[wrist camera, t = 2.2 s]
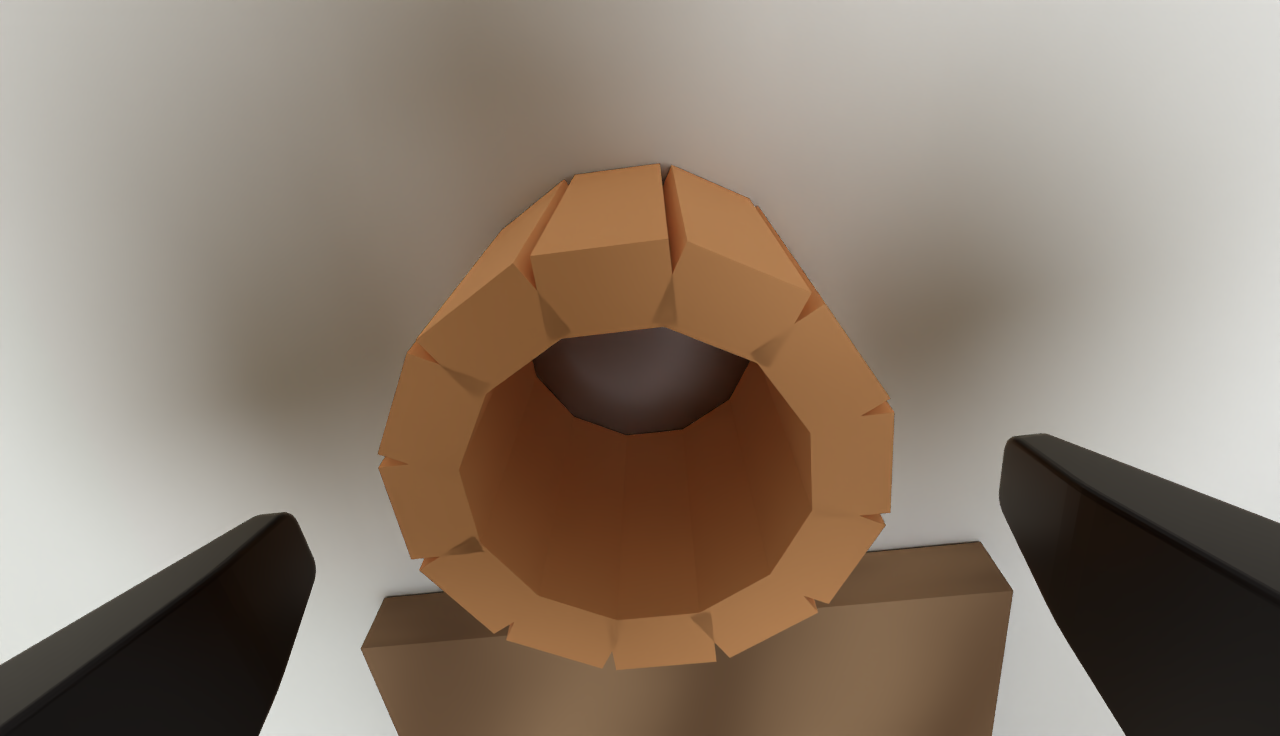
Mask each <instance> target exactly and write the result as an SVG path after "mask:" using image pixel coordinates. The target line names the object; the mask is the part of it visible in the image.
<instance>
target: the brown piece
mask: <svg viewBox="0 0 1280 736" xmlns="http://www.w3.org/2000/svg"><path fill="white" fill-rule="evenodd" d="M1012 595H1013V590H1012V588H1011V587H1010V585H1009V584H1008V582H1007V581H1006V579H1005V578H1004V576H1003V575H1002V573H1001V572H1000V570H999V569H998V567H997V566H996V564H995V563H994V561H993V560H992V558H991V557H990V555H989V554H988V552H987V551H986V549H985V548H984V546H983V545H982V543H981V542H975V543H965V544H954V545H943V546H933V547H922V548H911V549H901V550H890V551H879V552H869V553H865V555H864V556H863V557H862V559H861V560H860V561H859V563H858V564H857V566H856V567H855V568H854V570H853V571H852V572H851V574H850V575H849V577H848V578H847V579H846V581H845V582H844V583H843V585H842V586H841V588H840V589H839V590H838V592H837V593H836V594H835V596H834V597H833V599H832V600H831V601H830V603H829V604H827V603H824V602H821V601H818V600H815V599H814V600H815V604H816V607H817V610H818V613H816V614H815V615H813V616H811V617H809V618H807V619H805V620H803V621H801V622H799V623H797V624H795V625H793V626H791V627H789V628H787V629H785V630H783V631H781V632H779V633H777V634H776V635H774V636H772V637H770V638H768V639H766V640H764V641H762V642H760V643H758V644H756V645H754V646H752V647H750V648H748V649H746V650H744V651H742V652H740V653H739V654H737V655H735V656H733V657H731V658H729V657H728V656H727V655H726V654H725V652H724V651H723V650H722V649H721V648H720V647H719V646H718V645H717V644H716V643H715V642H714V643H715V652H716V661H717V662H707V663H695V664H683V665H671V666H659V667H648V668H636V669H624V670H616V667H615V662H614V658H613V653H612V652H611V654H610V656H609V658H608V659H607V661H606V663H605V665H604V667H603V668H602V669H601V668H598V667H595V666H591V665H588V664H585V663H581V662H578V661H574V660H571V659H568V658H564V657H561V656H558V655H554V654H551V653H547V652H544V651H541V650H537V649H534V648H531V647H527V646H524V645H521V644H517V643H514V642H510V641H507V640H506V638H507V634H508V630H509V626H510V625H508V626H506V627H505V628H503V629H501V630H500V631H498V632H496V633H495V634H494V633H492V632H491V631H490V630H489V629H488V628H487V627H485V626H484V625H483V624H482V623H481V622H479V621H478V620H477V619H476V618H475V617H474V616H472V615H471V614H470V613H469V612H468V611H467V610H465V609H464V608H463V607H462V606H461V605H460V604H458V603H457V602H456V601H455V600H454V599H452V598H451V597H450V596H449V595H448V594H447V593H445V592H442V593H431V594H421V595H410V596H399V597H388V598H384V600H383V603H382V605H381V607H380V609H379V611H378V613H377V615H376V617H375V619H374V622H373V624H372V626H371V628H370V630H369V632H368V634H367V636H366V638H365V641H364V643H363V645H362V647H361V650H362V653H363V655H364V657H365V660H366V662H367V664H368V667H369V669H370V671H371V673H372V676H373V678H374V680H375V683H376V685H377V687H378V689H379V692H380V694H381V696H382V699H383V701H384V703H385V706H386V708H387V710H388V712H389V715H390V717H391V719H392V722H393V724H394V726H395V728H396V731H397V733H398V735H399V736H992V730H993V723H994V716H995V710H996V703H997V696H998V690H999V683H1000V676H1001V669H1002V663H1003V656H1004V649H1005V643H1006V636H1007V629H1008V622H1009V616H1010V609H1011V602H1012Z"/></svg>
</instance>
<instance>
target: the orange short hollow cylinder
mask: <svg viewBox="0 0 1280 736" xmlns="http://www.w3.org/2000/svg"><path fill="white" fill-rule="evenodd" d="M658 327H666V328H668V329H671V330H674V331H676V332H679V333H681V334H684V335H686V336H689V337H691V338H694V339H697V340H699V341H702V342H704V343H707V344H709V345H712V346H714V347H717V348H720V349H722V350H725V351H727V352H730V353H732V354H735V355H738V356H740V357H743V358H745V359H748V360H750V362H749V364H748V366H747V368H746V370H745V371H744V373H743V375H742V377H741V379H740V381H739V382H738V384H737V386H736V388H735V390H734V392H733V394H732V395H731V397H730V399H729V400H728V401H726V402H725V403H723V404H721V405H720V406H718V407H717V408H715V409H714V410H712V411H710V412H709V413H707V414H706V415H704V416H703V417H701V418H700V419H698V420H696V421H695V422H693V423H692V424H690V425H689V426H687V427H685V428H684V429H682V430H673V431H663V432H654V433H645V434H635V435H624V434H621V433H618V432H616V431H613V430H610V429H607V428H604V427H602V426H599V425H596V424H593V423H591V422H588V421H585V420H582V419H579V418H577V417H574V416H573V415H572V414H571V413H570V412H569V411H568V410H567V409H566V408H565V406H564V405H563V404H562V403H561V402H560V401H559V400H558V399H557V398H556V397H555V396H554V395H553V393H552V392H551V391H550V390H549V389H548V388H547V387H546V386H545V385H544V384H543V383H542V382H541V381H540V379H539V378H538V377H537V376H536V373H535V368H534V364H533V359H534V358H536V357H537V356H539V355H540V354H541V353H543V352H544V351H545V350H547V349H548V348H549V347H551V346H552V345H554V344H555V343H556V342H558V341H559V340H560V339H564V338H573V337H581V336H590V335H598V334H607V333H615V332H624V331H632V330H641V329H649V328H658ZM889 399H890V397H889V396H888V394H887V393H886V391H885V390H884V388H883V387H882V386H881V384H880V383H879V381H878V380H877V378H876V377H875V375H874V374H873V372H872V371H871V369H870V368H869V367H868V365H867V364H866V362H865V361H864V359H863V358H862V356H861V355H860V353H859V352H858V351H857V349H856V348H855V346H854V345H853V343H852V342H851V340H850V339H849V337H848V336H847V334H846V333H845V332H844V330H843V329H842V327H841V326H840V324H839V323H838V321H837V320H836V318H835V317H834V315H833V314H832V313H831V311H830V310H829V308H828V307H827V305H826V304H825V302H824V301H823V299H822V298H821V297H820V295H819V294H818V292H817V291H816V289H815V288H814V286H813V285H812V283H811V282H810V281H809V279H808V278H807V276H806V275H805V273H804V272H803V270H802V269H801V268H800V266H799V265H798V263H797V262H796V260H795V259H794V257H793V256H792V254H791V253H790V252H789V250H788V249H787V247H786V246H785V244H784V243H783V241H782V240H781V239H780V237H779V236H778V234H777V233H776V231H775V230H774V228H773V227H772V226H771V224H770V223H769V221H768V220H767V218H766V217H765V215H764V214H763V212H762V211H761V210H760V208H759V207H758V206H757V207H754V205H753V204H752V202H751V201H750V199H749V198H747V197H744V196H742V195H740V194H737V193H735V192H733V191H731V190H728V189H726V188H724V187H721V186H719V185H717V184H714V183H712V182H710V181H708V180H705V179H703V178H701V177H698V176H696V175H694V174H691V173H689V172H687V171H684V170H682V169H680V168H678V167H675V166H673V165H671V168H670V170H669V173H668V175H667V177H666V180H665V182H664V184H663V186H662V177H661V169H660V163H659V164H651V165H644V166H636V167H629V168H621V169H614V170H606V171H599V172H591V173H584V174H576V175H574V177H573V179H572V181H571V183H570V184H569V185H568V184H567V182H566V181H565V180H563V181H561V182H560V183H559V184H558V185H557V186H555V187H554V188H553V189H552V190H550V191H549V192H548V193H547V194H545V195H544V196H543V197H542V198H541V199H539V200H538V201H537V202H536V203H534V204H533V205H532V206H531V207H529V208H528V209H527V210H526V211H525V212H523V213H522V214H521V215H520V216H518V217H517V218H516V219H515V220H514V221H512V222H511V223H510V224H509V225H507V226H506V227H505V228H504V229H502V230H501V231H500V233H499V234H498V235H497V237H496V238H495V239H494V240H493V242H492V243H491V244H490V245H489V247H488V248H487V249H486V251H485V252H484V253H483V254H482V256H481V257H480V258H479V260H478V261H477V262H476V263H475V265H474V266H473V267H472V268H471V270H470V271H469V272H468V274H467V275H466V276H465V277H464V279H463V280H462V281H461V283H460V284H459V285H458V286H457V288H456V289H455V290H454V291H453V293H452V294H451V295H450V297H449V298H448V299H447V300H446V302H445V303H444V304H443V306H442V307H441V308H440V309H439V311H438V312H437V313H436V314H435V316H434V317H433V318H432V320H431V321H430V322H429V323H428V325H427V326H426V327H425V329H424V330H423V331H422V332H421V334H420V335H419V336H418V337H417V339H416V342H415V343H414V344H413V346H412V347H411V348H410V349H409V351H408V352H407V354H406V357H405V361H404V364H403V368H402V371H401V375H400V378H399V381H398V385H397V388H396V392H395V395H394V399H393V402H392V406H391V409H390V413H389V416H388V420H387V423H386V427H385V430H384V434H383V437H382V441H381V444H380V447H379V451H378V454H379V455H382V456H385V458H384V459H383V461H382V463H381V464H380V466H379V467H378V468H379V471H380V474H381V477H382V479H383V482H384V485H385V488H386V491H387V493H388V496H389V499H390V502H391V504H392V507H393V510H394V513H395V516H396V518H397V521H398V524H399V527H400V529H401V532H402V535H403V538H404V540H405V543H406V546H407V549H408V552H409V554H410V557H411V559H419V558H424V560H423V563H422V565H421V567H420V569H419V570H420V571H421V572H422V573H423V574H424V575H425V576H427V577H428V578H429V579H430V580H431V581H432V582H434V583H435V584H436V585H437V586H438V587H440V588H441V589H442V590H443V591H444V592H445V593H447V594H448V595H449V596H450V597H451V598H452V599H454V600H455V601H456V602H457V603H458V604H460V605H461V606H462V607H463V608H464V609H465V610H467V611H468V612H469V613H470V614H471V615H472V616H474V617H475V618H476V619H477V620H478V621H479V622H481V623H482V624H483V625H484V626H485V627H487V628H488V629H489V630H490V631H491V632H492V633H494V634H495V633H496V632H498V631H500V630H501V629H503V628H505V627H506V626H508V625H510V626H509V630H508V634H507V638H506V640H507V641H510V642H514V643H517V644H521V645H524V646H527V647H531V648H534V649H537V650H541V651H544V652H547V653H551V654H554V655H558V656H561V657H564V658H568V659H571V660H574V661H578V662H581V663H585V664H588V665H591V666H595V667H598V668H601V669H602V668H603V667H604V665H605V663H606V661H607V659H608V658H609V656H610V654H611V652H612V653H613V658H614V662H615V667H616V670H624V669H636V668H648V667H659V666H671V665H683V664H695V663H707V662H717V661H716V652H715V643H716V644H717V645H718V646H719V647H720V648H721V649H722V650H723V651H724V652H725V654H726V655H727V656H728V657H729V658H731V657H733V656H735V655H737V654H739V653H740V652H742V651H744V650H746V649H748V648H750V647H752V646H754V645H756V644H758V643H760V642H762V641H764V640H766V639H768V638H770V637H772V636H774V635H776V634H777V633H779V632H781V631H783V630H785V629H787V628H789V627H791V626H793V625H795V624H797V623H799V622H801V621H803V620H805V619H807V618H809V617H811V616H813V615H815V614H816V613H818V610H817V607H816V604H815V600H818V601H821V602H824V603H827V604H829V603H830V601H831V600H832V599H833V597H834V596H835V594H836V593H837V592H838V590H839V589H840V588H841V586H842V585H843V583H844V582H845V581H846V579H847V578H848V577H849V575H850V574H851V572H852V571H853V570H854V568H855V567H856V566H857V564H858V563H859V561H860V560H861V559H862V557H863V556H864V555H865V553H866V552H867V550H868V549H869V548H870V546H871V545H872V544H873V542H874V541H875V539H876V538H877V537H878V535H879V534H880V532H881V531H882V530H883V528H884V527H885V526H886V525H885V523H884V521H883V519H882V517H881V515H880V514H882V513H890V510H891V485H892V460H893V435H894V411H893V410H892V408H891V407H890V405H889V404H888V402H887V400H889ZM814 599H815V600H814ZM714 642H715V643H714Z"/></svg>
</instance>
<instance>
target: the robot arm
mask: <svg viewBox="0 0 1280 736" xmlns="http://www.w3.org/2000/svg"><path fill="white" fill-rule="evenodd" d="M999 501H1000V506H1001V509H1002V512H1003V514H1004V516H1005V519H1006V521H1007V523H1008V525H1009V527H1010V529H1011V531H1012V533H1013V535H1014V537H1015V539H1016V541H1017V543H1018V546H1019V548H1020V550H1021V552H1022V554H1023V556H1024V558H1025V560H1026V562H1027V564H1028V566H1029V568H1030V571H1031V573H1032V575H1033V577H1034V579H1035V581H1036V583H1037V585H1038V587H1039V589H1040V591H1041V593H1042V595H1043V598H1044V600H1045V602H1046V604H1047V606H1048V608H1049V610H1050V612H1051V614H1052V615H1053V617H1054V619H1055V621H1056V623H1057V625H1058V627H1059V628H1060V630H1061V632H1062V633H1063V635H1064V637H1065V638H1066V640H1067V642H1068V643H1069V645H1070V647H1071V648H1072V650H1073V651H1074V653H1075V655H1076V656H1077V658H1078V659H1079V661H1080V663H1081V664H1082V666H1083V668H1084V669H1085V671H1086V672H1087V674H1088V676H1089V677H1090V679H1091V680H1092V682H1093V684H1094V685H1095V687H1096V688H1097V690H1098V692H1099V693H1100V695H1101V696H1102V698H1103V700H1104V701H1105V703H1106V704H1107V706H1108V708H1109V709H1110V711H1111V712H1112V714H1113V716H1114V717H1115V719H1116V720H1117V722H1118V724H1119V725H1120V727H1121V728H1122V730H1123V732H1124V733H1125V735H1126V736H1280V523H1278V522H1275V521H1273V520H1270V519H1268V518H1265V517H1262V516H1260V515H1257V514H1255V513H1252V512H1249V511H1247V510H1244V509H1242V508H1239V507H1236V506H1234V505H1231V504H1229V503H1226V502H1223V501H1221V500H1218V499H1216V498H1213V497H1210V496H1208V495H1205V494H1203V493H1200V492H1197V491H1195V490H1192V489H1190V488H1187V487H1184V486H1182V485H1179V484H1177V483H1174V482H1171V481H1169V480H1166V479H1163V478H1161V477H1158V476H1156V475H1153V474H1150V473H1148V472H1145V471H1143V470H1140V469H1137V468H1135V467H1132V466H1130V465H1127V464H1124V463H1122V462H1119V461H1117V460H1114V459H1111V458H1109V457H1106V456H1104V455H1101V454H1098V453H1096V452H1093V451H1091V450H1088V449H1085V448H1083V447H1080V446H1078V445H1075V444H1072V443H1070V442H1067V441H1065V440H1062V439H1059V438H1057V437H1054V436H1052V435H1049V434H1042V433H1040V434H1031V435H1022V436H1014V437H1012V438H1010V439H1009V440H1008V441H1007V443H1006V445H1005V448H1004V455H1003V463H1002V471H1001V479H1000V488H999ZM315 574H316V566H315V561H314V558H313V556H312V553H311V551H310V549H309V546H308V544H307V542H306V540H305V537H304V535H303V533H302V531H301V528H300V526H299V524H298V522H297V520H296V518H295V517H294V516H293V515H291V514H289V513H287V512H282V513H272V514H262V515H257V516H255V517H253V518H251V519H249V520H247V521H246V522H244V523H242V524H240V525H239V526H237V527H235V528H234V529H232V530H230V531H229V532H227V533H225V534H223V535H222V536H220V537H218V538H217V539H215V540H213V541H211V542H210V543H208V544H206V545H205V546H203V547H201V548H199V549H198V550H196V551H194V552H193V553H191V554H189V555H187V556H186V557H184V558H182V559H181V560H179V561H177V562H176V563H174V564H172V565H170V566H169V567H167V568H165V569H164V570H162V571H160V572H158V573H157V574H155V575H153V576H152V577H150V578H148V579H146V580H145V581H143V582H141V583H140V584H138V585H136V586H134V587H133V588H131V589H129V590H128V591H126V592H124V593H123V594H121V595H119V596H117V597H116V598H114V599H112V600H111V601H109V602H107V603H105V604H104V605H102V606H100V607H99V608H97V609H95V610H93V611H92V612H90V613H88V614H87V615H85V616H83V617H81V618H80V619H78V620H76V621H75V622H73V623H71V624H69V625H68V626H66V627H64V628H63V629H61V630H59V631H58V632H56V633H54V634H52V635H51V636H49V637H47V638H46V639H44V640H42V641H40V642H39V643H37V644H35V645H34V646H32V647H30V648H28V649H27V650H25V651H23V652H22V653H20V654H18V655H16V656H15V657H13V658H11V659H10V660H8V661H6V662H5V663H3V664H1V665H0V736H259V734H260V731H261V729H262V727H263V724H264V722H265V720H266V718H267V715H268V713H269V711H270V708H271V706H272V704H273V701H274V699H275V696H276V694H277V691H278V689H279V686H280V683H281V680H282V678H283V675H284V672H285V669H286V666H287V663H288V660H289V657H290V654H291V651H292V648H293V645H294V642H295V639H296V635H297V632H298V629H299V626H300V623H301V620H302V617H303V614H304V611H305V608H306V605H307V602H308V599H309V596H310V593H311V590H312V587H313V584H314V580H315Z"/></svg>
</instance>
